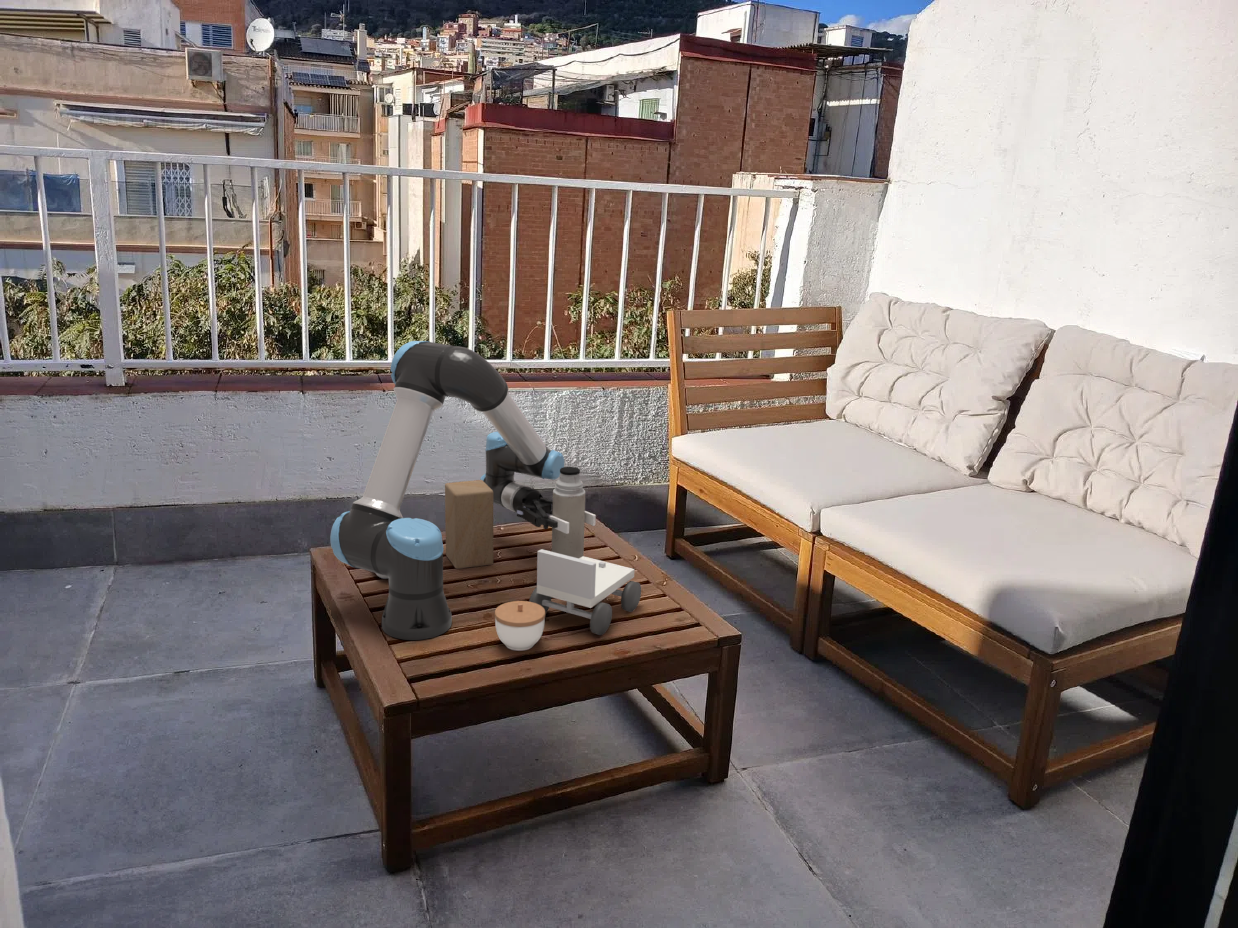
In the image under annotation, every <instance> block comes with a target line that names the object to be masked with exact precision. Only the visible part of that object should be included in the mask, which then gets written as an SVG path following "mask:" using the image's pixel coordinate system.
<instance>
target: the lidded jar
mask: <svg viewBox="0 0 1238 928" xmlns="http://www.w3.org/2000/svg"><path fill="white" fill-rule="evenodd" d="M545 618H546V614H545V609H544V608H543V607H542V606H541V605H539V604H536V603H533V602H529V601H527V600H513V601H512V600H511V601H508V602H505V603H502V604H500V605H497V607H496V608H495V610H494V619H495V620H494V622H495V623H494V624H495V631H496V634H497V636H498V638H499V641H501V642H502V643H503V644H504V645H505V647H506V648H507V649H508V650H511V651H515V652H516V651H518V652H520V651H528V650H530V649H532V648H533V647H534V646H535V644H537V643H538V642H539V640H540V639H541V638H542V636H543V633H544V632H543V631H544V629H545V623H546V622H545Z"/></svg>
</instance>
